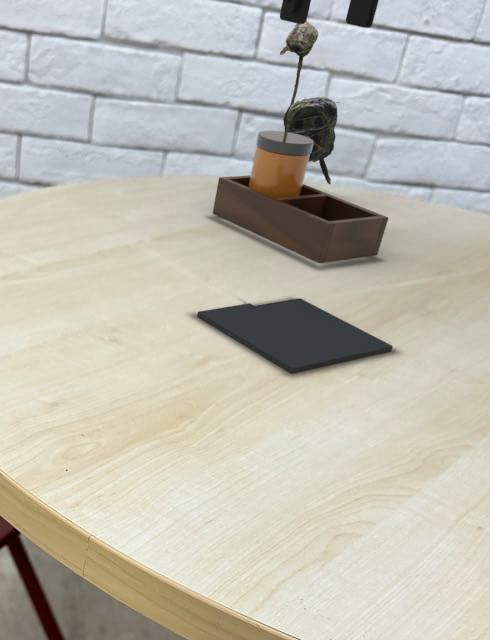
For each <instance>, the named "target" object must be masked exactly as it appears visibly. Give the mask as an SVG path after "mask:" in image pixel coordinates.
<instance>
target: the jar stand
mask: <svg viewBox="0 0 490 640" xmlns="http://www.w3.org/2000/svg"><path fill="white" fill-rule="evenodd" d="M250 175H251V174H249V175H237V176H236V175H234V176H222V177H221V176H219V177H218V181H217V186H216V192H215V199H214V203H213V209H212V214H213V215H214V216H217V217H219V218H221V219H223V220H225V221H227V222H230V223H232V224H234V225H236V226H238V227H240V228H242V229H244V230H247V231H249V232H251V233H253V234H255V235H257V236H259V237H262V238H263V239H266V240H267V241H270V242H272V243H274V244H277V245H278V246H281V247H283V248H285V249H287V250H289V251H291V252H294V253H296V254H297V255H300V256H302V257H304V258H306V259H309V260H310V261H313V262H315V263H317V264H324V263H331V262H332V263H333V262H340V261H347V260H352V259H353V260H354V259H359V258H367V257H375V256H378V253H379V251H380V247H381V244H382V240H383V238H384V235H385V231H386V228H387V224H388V221H389V217H388V216H386V215H383V214H381V213H378V212H375V211H373V210H371V209H368V208H366V207H363V206H360V205H358V204H355V203H353V202H350V201H348V200H345V199H343V198H340V197H337V196H334V195H332V194H329V193H327V192H324V191H322V190H320V189H317V188H314V187H311V186H309V185H307V184H304V183H303V186H302V190H301V194H300V196H290V197H279V198H272V197H270V196H268V195H265V194H263V193H261V192H258V191H256V190H253V189H251V188H249V187H248V185H249V180H250Z"/></svg>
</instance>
